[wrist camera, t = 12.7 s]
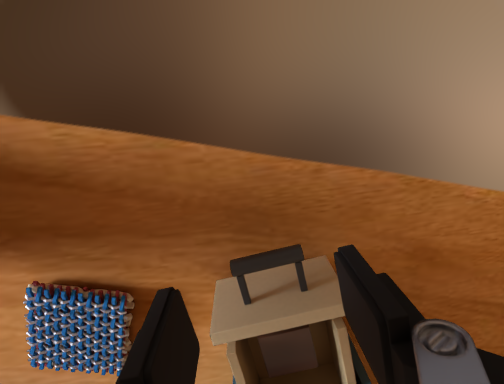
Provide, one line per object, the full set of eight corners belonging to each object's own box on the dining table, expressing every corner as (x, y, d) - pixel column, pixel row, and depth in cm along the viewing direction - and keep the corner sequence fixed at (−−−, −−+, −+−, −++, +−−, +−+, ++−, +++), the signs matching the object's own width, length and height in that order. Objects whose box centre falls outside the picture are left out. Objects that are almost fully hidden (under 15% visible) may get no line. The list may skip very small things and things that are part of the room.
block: (254, 304, 30) (257, 339, 26) (299, 293, 30) (309, 327, 25) (264, 339, 31) (269, 378, 27) (307, 329, 31) (318, 367, 27)
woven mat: (36, 357, 33) (24, 373, 31) (32, 275, 30) (18, 287, 28) (132, 366, 34) (125, 382, 32) (136, 287, 31) (130, 299, 29)
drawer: (204, 243, 29) (193, 289, 22) (318, 216, 29) (344, 253, 22) (247, 378, 34) (250, 449, 27) (344, 356, 34) (372, 423, 27)
